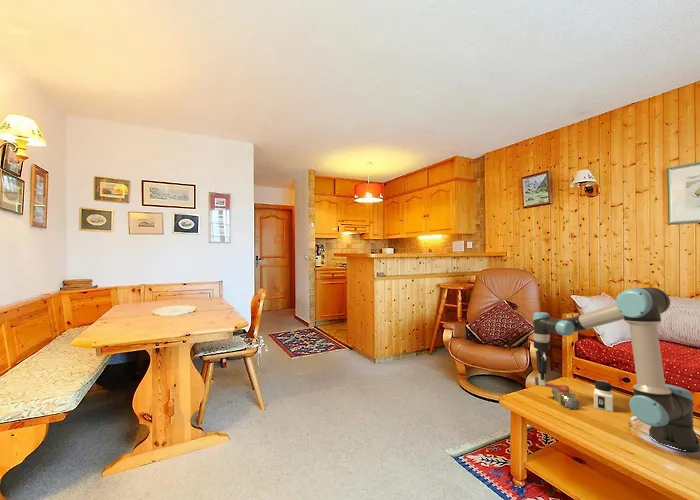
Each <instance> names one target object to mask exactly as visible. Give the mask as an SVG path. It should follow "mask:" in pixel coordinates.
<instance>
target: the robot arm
mask: <svg viewBox="0 0 700 500" xmlns="http://www.w3.org/2000/svg"><path fill="white" fill-rule="evenodd" d="M670 306H671V299H670V297H669V295H668V293H666V292H665V291H664V290H662V289H660V288H657V287H651V286H650V287H649V286H647V287H634V288H629V289H625V290H623V291H621V292H620V293H619V294H618V295H617V297H616V301H615V303H614V304H611V305H607V306H605V307H602V308H598V309H595V310H592V311H589V312H586V313H582V314H580V315H576V316H573V317H566V318H553V317H550V314H549V313H548V312H544V311H535V312H534V313H533V318H532V321H533V322H532V323H533V335H532V336H533V337H532V338H533V348H534V349H536V351H535V356H536V357H535V359H536V369H537V373H538V377H539V385H543V386H542V387H544V386H545V383H546V374H547V369H548V361H549V357H548V354H547V351H548V350H550V348H551V347H550V338H551V335H550V333H553V334H556V335H561V336H567V337H568V336H569V337H570V336H572V334H574V333H582V332H584V331H586V330H590V329H593V328H596V327H600V326H604V325H606V324H607V325H608V324H612V323H615V322H618V321H624V322H626V324H628V326H629V332H630V339H631V347H632V354H633V360H634V361H633V362H634V369H635V377H636V383H635V384H634V385H633V386H632V389H633V396H632V397H631V398H630V400H629V402H628V403H629V405H628V406H629V409H630V411H631V413H632V414H633V416H635V417H636V419H638V421H640V422H642V423H643V424H646V425H647V426H650V427H649V429H648V436H649V435H650V436H651V437H652V438H653V439H655V440H656V441H658V442H659V443H662V444H665V445H669V446H672V447H675V448H678V449H681V450H686V451H691V452H690V453H695V452H696V453H698V452H699V451H700V442H699V438H698V437H697V434H696V431H695V429H694V399H693V394H692V392H691V391H690V390H688V389H686V388H683V387H681V386H677V385H673V384H668V383H666V382H665V381H666V380H665V375H664V366H663V360H662V354H661V352H662V351H661V346H660V338H659V332H658V325H659V324H661V322H662V316H661V314H663V313H665V312H666V311H668V310H669V308H670ZM650 436H649V437H650ZM651 437H650V438H651ZM652 438H651V439H652ZM653 439H652V440H653ZM656 441H655V442H656ZM659 443H658V444H659Z"/></svg>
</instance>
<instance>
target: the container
mask: <svg viewBox="0 0 700 500" xmlns="http://www.w3.org/2000/svg"><path fill="white" fill-rule="evenodd" d="M594 383H595V384H594V385H595V386H594V387H595V388H594V389H593V408H594V409H596V410H597V409H598V410H601V411H607V412H612V413H613V412H614V392H613V391H612V384H611V383H610V382H608V381H605V380H596V381H595V382H594Z"/></svg>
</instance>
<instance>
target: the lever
mask: <svg viewBox="0 0 700 500" xmlns="http://www.w3.org/2000/svg"><path fill="white" fill-rule="evenodd" d="M534 384H535V386H538V387H544V388H545V387H547V388H551V389H552V388H556V389H560V390H562V391H569V389H570V386H569V385H565V384H560V385H558V384H554V383H553V384H552V383H547V382H545V386H543V385H539V376H534Z"/></svg>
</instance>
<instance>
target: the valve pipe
mask: <svg viewBox="0 0 700 500" xmlns="http://www.w3.org/2000/svg"><path fill="white" fill-rule="evenodd" d="M551 394H553V395H552V398H553V397H554V398H553V399H554V400H555V402H556V403H558V404H559V405H560V406H562V407H563V408H564V409H569V410H572V411H573V410H577V409H578V408H579V406H580V401H578V399H577V398H576V393H575V391H573V390H572V389H570V388H569V391H562V390H560V389H556V388H551Z"/></svg>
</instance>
